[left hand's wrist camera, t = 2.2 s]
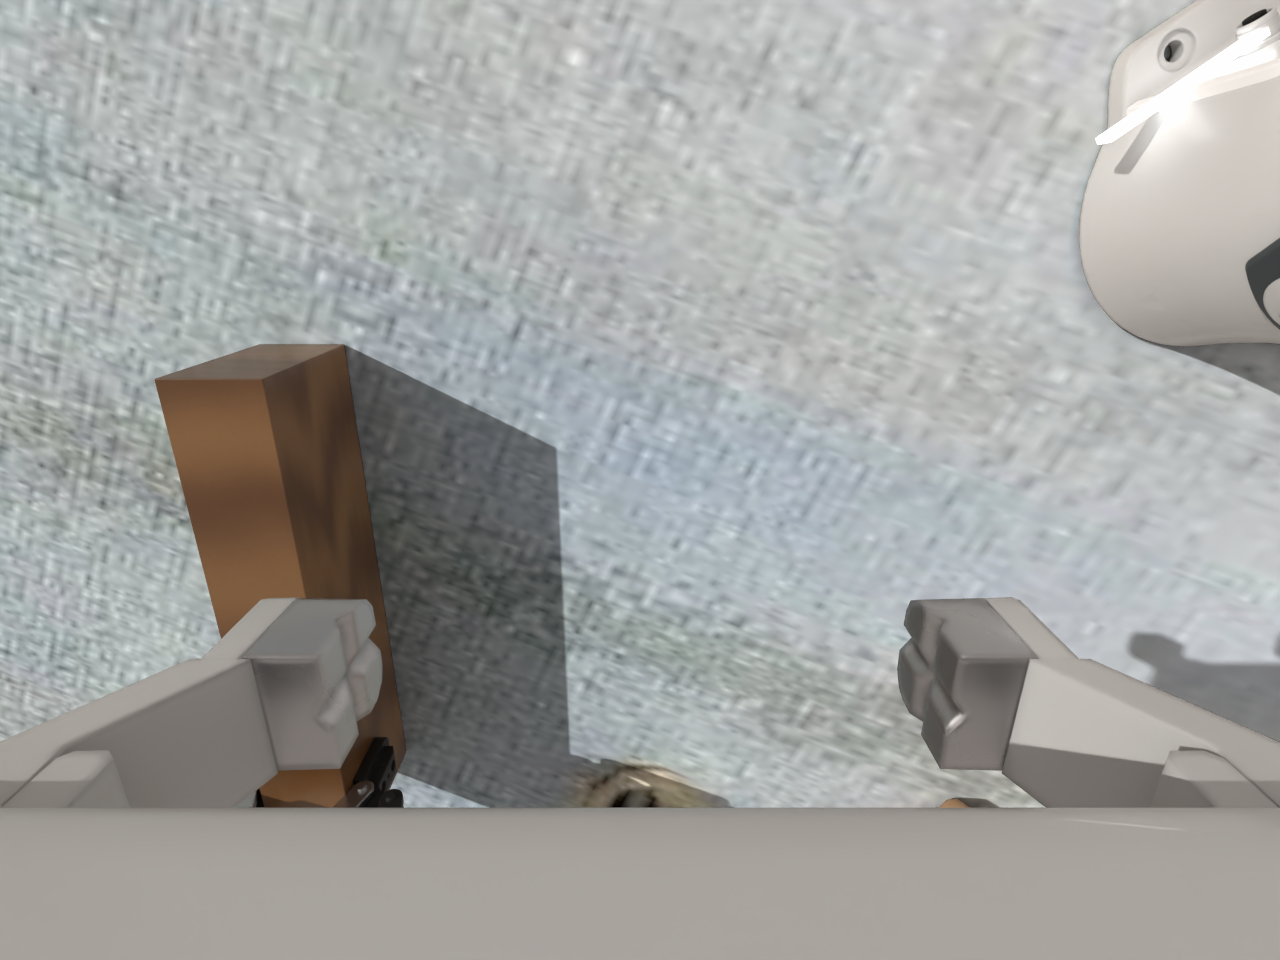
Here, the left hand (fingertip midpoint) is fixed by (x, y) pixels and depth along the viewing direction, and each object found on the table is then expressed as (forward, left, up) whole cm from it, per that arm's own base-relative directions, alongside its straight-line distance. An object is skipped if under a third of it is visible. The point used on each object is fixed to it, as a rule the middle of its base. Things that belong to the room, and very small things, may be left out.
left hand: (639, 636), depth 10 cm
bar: (+23, -3, -28) cm, 37 cm away
